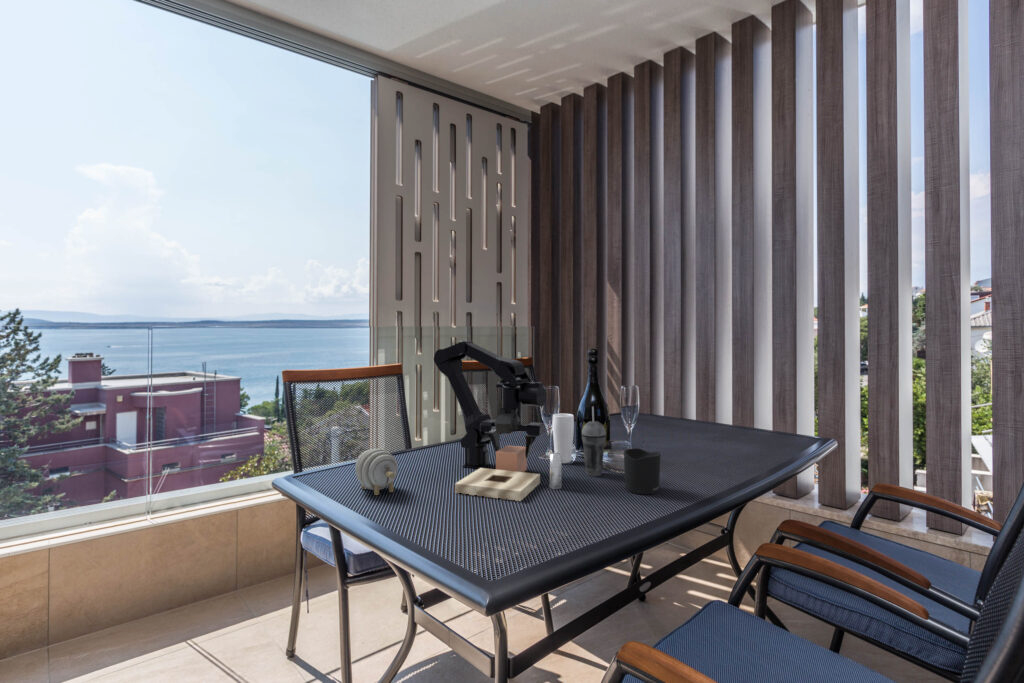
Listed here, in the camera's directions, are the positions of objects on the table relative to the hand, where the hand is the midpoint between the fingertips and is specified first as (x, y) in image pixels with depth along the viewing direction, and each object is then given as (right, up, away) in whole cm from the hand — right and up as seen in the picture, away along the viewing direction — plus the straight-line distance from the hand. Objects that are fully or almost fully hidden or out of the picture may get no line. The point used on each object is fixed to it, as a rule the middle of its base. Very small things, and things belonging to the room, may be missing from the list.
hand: (512, 456), depth 155 cm
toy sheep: (-36, -6, -17) cm, 40 cm away
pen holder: (+34, -6, -16) cm, 38 cm away
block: (0, -5, 0) cm, 5 cm away
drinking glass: (+16, -5, +12) cm, 21 cm away
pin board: (-4, -5, -14) cm, 16 cm away
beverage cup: (+24, -5, -1) cm, 24 cm away
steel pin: (+12, -5, -14) cm, 19 cm away
